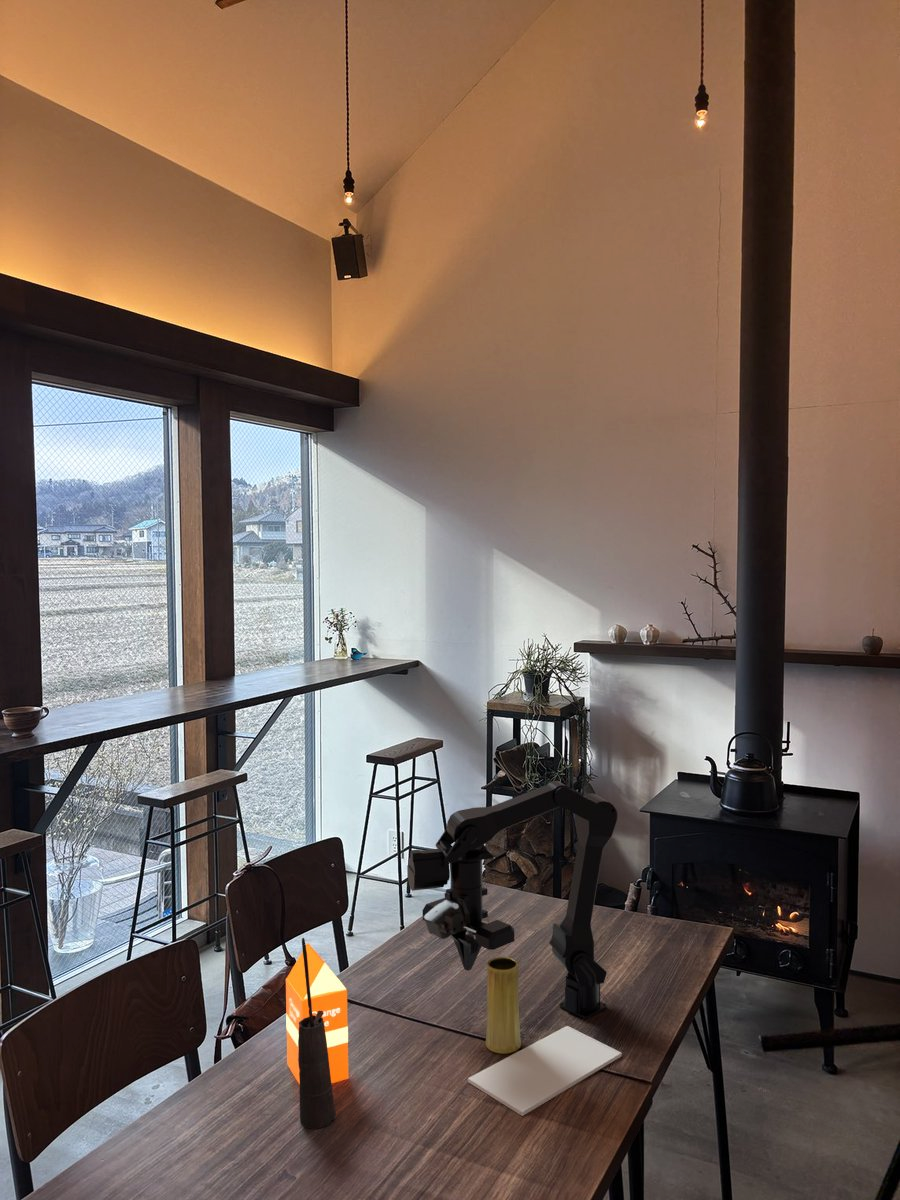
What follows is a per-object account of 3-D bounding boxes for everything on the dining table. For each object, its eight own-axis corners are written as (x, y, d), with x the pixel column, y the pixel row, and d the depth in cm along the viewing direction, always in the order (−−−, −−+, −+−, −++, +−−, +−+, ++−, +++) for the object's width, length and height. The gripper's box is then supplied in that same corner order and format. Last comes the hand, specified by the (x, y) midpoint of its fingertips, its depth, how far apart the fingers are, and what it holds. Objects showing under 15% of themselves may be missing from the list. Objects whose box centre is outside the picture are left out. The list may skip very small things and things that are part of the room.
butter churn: (321, 1088, 141) (318, 914, 140) (364, 1111, 135) (361, 929, 134) (276, 1116, 134) (272, 933, 133) (319, 1142, 128) (315, 950, 127)
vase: (524, 1038, 155) (524, 958, 154) (515, 1057, 149) (515, 973, 149) (491, 1033, 157) (490, 953, 156) (481, 1051, 151) (480, 968, 151)
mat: (567, 1029, 158) (567, 1025, 158) (621, 1056, 149) (621, 1052, 149) (467, 1082, 142) (467, 1078, 142) (522, 1116, 133) (522, 1112, 133)
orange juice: (303, 1091, 140) (300, 967, 139) (286, 1064, 148) (284, 946, 147) (349, 1078, 143) (347, 956, 143) (331, 1052, 151) (329, 936, 151)
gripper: (398, 881, 160) (400, 966, 161) (468, 910, 146) (470, 1003, 147) (445, 867, 168) (446, 948, 168) (516, 893, 154) (517, 981, 154)
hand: (467, 969), depth 159 cm, fingers closed
